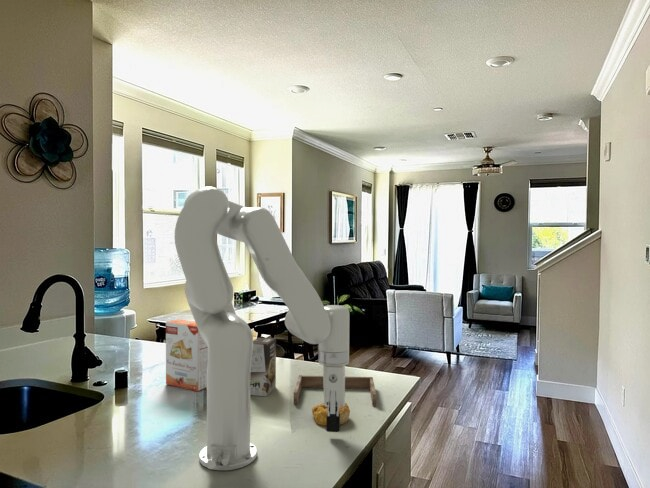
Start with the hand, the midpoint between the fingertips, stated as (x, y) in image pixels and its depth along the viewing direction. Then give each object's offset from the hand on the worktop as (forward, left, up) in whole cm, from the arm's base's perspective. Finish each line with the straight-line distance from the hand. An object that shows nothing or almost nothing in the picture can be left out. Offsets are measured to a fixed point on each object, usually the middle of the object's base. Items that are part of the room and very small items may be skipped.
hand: (333, 430), depth 114 cm
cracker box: (+34, +48, -2) cm, 59 cm away
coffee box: (+31, +23, -2) cm, 39 cm away
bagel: (+11, +1, -2) cm, 11 cm away
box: (+28, 0, -2) cm, 28 cm away
